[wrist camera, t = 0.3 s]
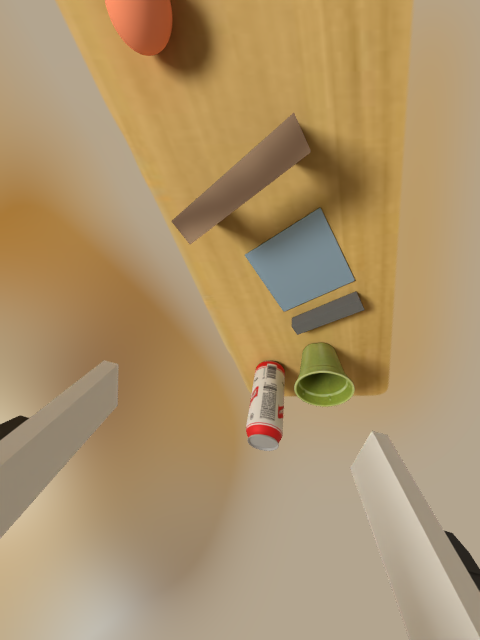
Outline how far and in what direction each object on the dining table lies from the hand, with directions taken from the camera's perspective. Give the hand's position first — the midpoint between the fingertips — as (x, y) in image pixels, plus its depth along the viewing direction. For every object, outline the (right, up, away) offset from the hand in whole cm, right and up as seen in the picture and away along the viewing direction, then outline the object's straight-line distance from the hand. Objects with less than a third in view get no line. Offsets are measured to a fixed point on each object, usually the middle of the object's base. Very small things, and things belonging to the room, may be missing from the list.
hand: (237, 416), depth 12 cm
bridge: (+1, +23, +17) cm, 29 cm away
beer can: (+7, -5, +38) cm, 39 cm away
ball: (-9, +32, +8) cm, 35 cm away
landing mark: (+9, +13, +23) cm, 28 cm away
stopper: (+14, +7, +27) cm, 31 cm away
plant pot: (+16, -1, +33) cm, 37 cm away
